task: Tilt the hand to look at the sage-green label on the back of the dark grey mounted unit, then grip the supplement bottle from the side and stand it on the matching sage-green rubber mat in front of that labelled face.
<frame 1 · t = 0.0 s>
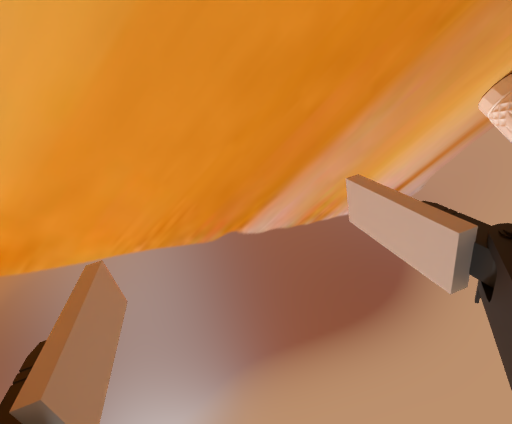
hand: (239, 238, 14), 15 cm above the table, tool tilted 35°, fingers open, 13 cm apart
white cup: (499, 89, 41), on the table
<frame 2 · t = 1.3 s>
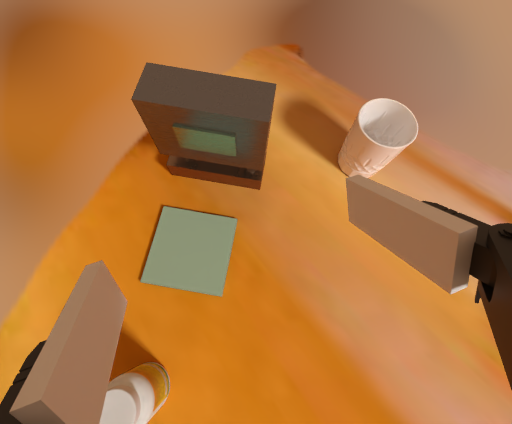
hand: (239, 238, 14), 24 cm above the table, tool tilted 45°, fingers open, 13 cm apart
mounted unit: (219, 168, 42), on the table
white cup: (356, 162, 44), on the table
green mat: (191, 249, 38), on the table
supplement bottle: (149, 385, 32), on the table
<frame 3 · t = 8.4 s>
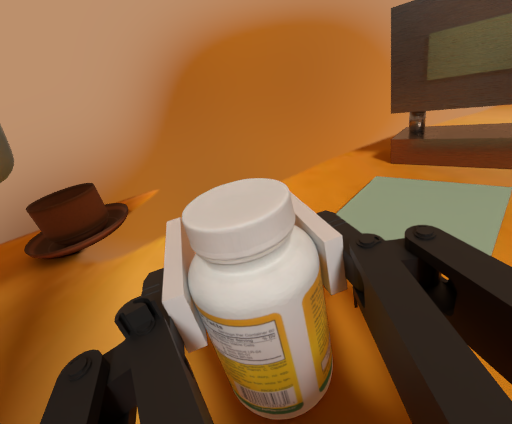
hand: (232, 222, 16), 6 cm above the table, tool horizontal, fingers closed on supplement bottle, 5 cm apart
mounted unit: (465, 158, 30), on the table
green mat: (414, 213, 23), on the table
supplement bottle: (282, 366, 14), on the table, touching gripper
brown top hat: (87, 238, 35), on the table
when the fingers open (8 cm above the table, at t = 13.6 s): supplement bottle drops 1 cm, resting on green mat.
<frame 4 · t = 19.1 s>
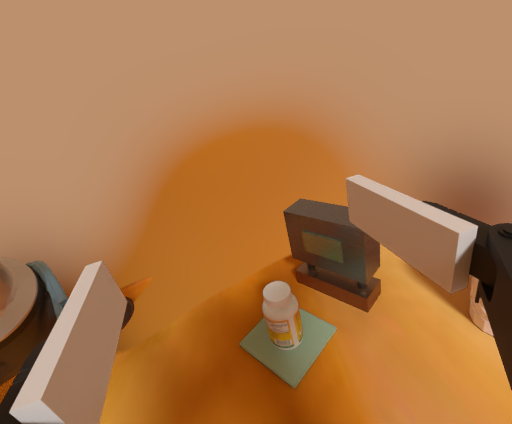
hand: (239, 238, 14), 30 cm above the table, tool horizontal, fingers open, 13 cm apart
mounted unit: (336, 286, 49), on the table
white cup: (499, 321, 37), on the table
green mat: (287, 337, 42), on the table
supplement bottle: (287, 336, 42), resting on green mat
brown top hat: (108, 326, 54), on the table
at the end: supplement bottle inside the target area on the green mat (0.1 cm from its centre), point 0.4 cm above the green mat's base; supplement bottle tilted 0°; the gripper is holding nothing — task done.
